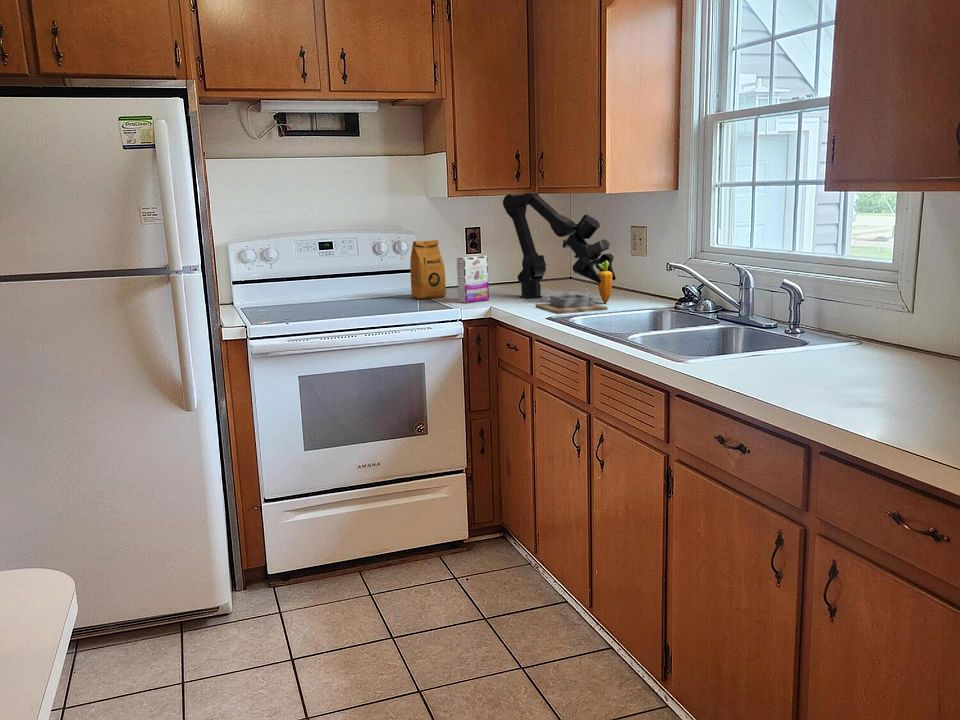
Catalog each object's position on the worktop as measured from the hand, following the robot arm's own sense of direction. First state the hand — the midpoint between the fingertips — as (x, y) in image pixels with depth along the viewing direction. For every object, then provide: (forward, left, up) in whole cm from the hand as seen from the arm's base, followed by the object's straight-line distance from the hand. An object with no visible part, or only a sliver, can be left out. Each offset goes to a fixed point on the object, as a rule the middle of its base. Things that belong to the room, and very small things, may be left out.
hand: (607, 280), depth 290 cm
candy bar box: (-32, +37, -8) cm, 50 cm away
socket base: (-16, -1, -8) cm, 18 cm away
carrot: (0, +1, -8) cm, 8 cm away
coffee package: (-40, +57, -8) cm, 71 cm away
